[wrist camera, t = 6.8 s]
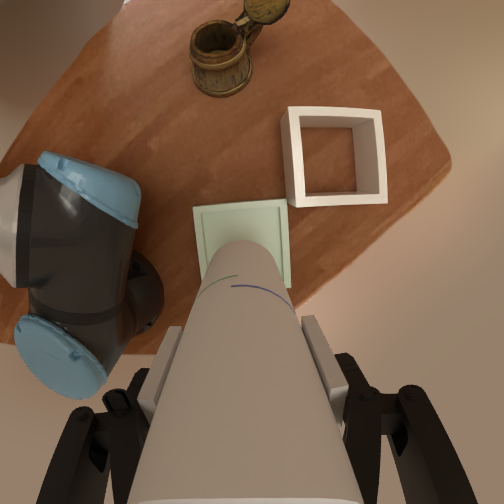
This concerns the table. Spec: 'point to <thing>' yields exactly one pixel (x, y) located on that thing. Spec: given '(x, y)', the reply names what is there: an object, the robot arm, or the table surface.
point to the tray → (244, 230)
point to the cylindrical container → (243, 401)
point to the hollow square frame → (365, 151)
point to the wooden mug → (230, 47)
